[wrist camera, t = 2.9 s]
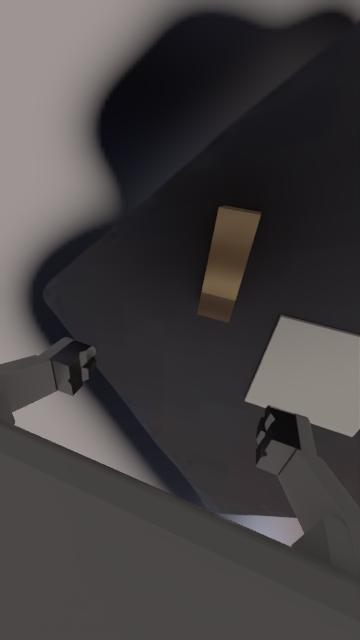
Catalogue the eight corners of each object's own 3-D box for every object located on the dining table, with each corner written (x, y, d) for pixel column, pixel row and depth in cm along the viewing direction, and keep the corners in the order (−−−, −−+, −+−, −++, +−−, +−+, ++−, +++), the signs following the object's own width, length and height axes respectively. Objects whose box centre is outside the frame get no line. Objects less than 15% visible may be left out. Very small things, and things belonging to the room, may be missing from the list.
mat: (280, 314, 29) (281, 316, 29) (424, 351, 26) (427, 354, 26) (244, 398, 37) (244, 400, 37) (350, 433, 34) (352, 436, 34)
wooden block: (224, 205, 25) (218, 207, 22) (260, 212, 25) (260, 215, 21) (203, 301, 32) (197, 314, 28) (232, 308, 31) (228, 322, 27)
